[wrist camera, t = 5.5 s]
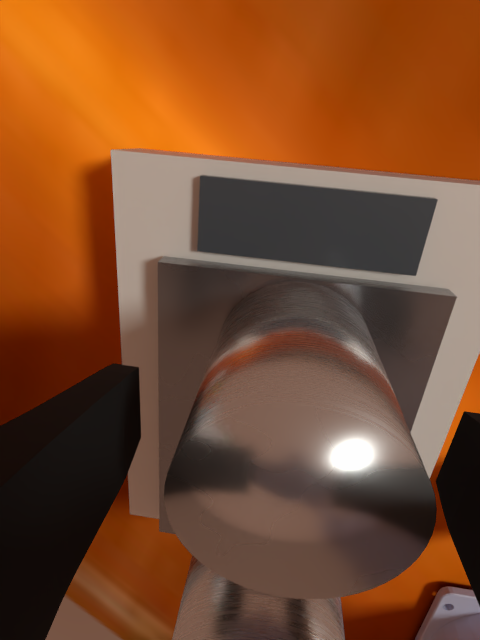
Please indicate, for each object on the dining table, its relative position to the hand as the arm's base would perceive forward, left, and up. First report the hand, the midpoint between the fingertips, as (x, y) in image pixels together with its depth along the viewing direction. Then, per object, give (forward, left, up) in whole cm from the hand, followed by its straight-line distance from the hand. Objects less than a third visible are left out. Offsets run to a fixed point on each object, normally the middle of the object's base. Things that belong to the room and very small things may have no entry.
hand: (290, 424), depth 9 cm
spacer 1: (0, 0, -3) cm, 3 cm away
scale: (-2, 0, -6) cm, 6 cm away
